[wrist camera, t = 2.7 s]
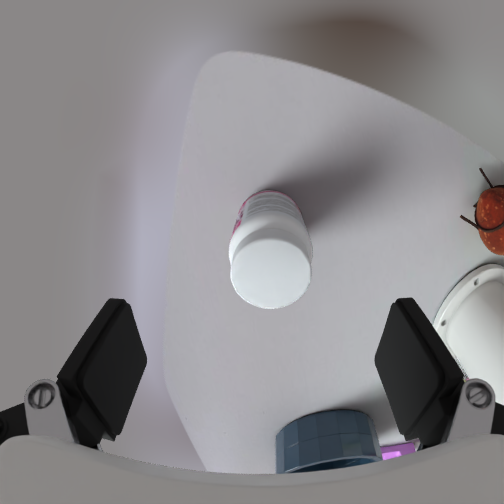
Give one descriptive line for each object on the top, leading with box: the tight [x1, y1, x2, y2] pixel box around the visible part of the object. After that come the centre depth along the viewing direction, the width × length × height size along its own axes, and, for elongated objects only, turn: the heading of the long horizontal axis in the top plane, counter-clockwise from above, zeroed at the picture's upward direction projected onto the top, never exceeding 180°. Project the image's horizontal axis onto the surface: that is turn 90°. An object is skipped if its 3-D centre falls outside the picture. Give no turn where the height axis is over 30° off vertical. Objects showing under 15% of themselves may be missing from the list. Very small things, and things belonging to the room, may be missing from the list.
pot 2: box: [460, 168, 504, 255], centre depth 17 cm, size 6×8×6 cm
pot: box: [275, 410, 383, 474], centre depth 31 cm, size 15×15×8 cm
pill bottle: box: [229, 190, 313, 309], centre depth 17 cm, size 5×5×8 cm
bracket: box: [380, 443, 416, 460], centre depth 36 cm, size 13×6×7 cm, turn 80°
